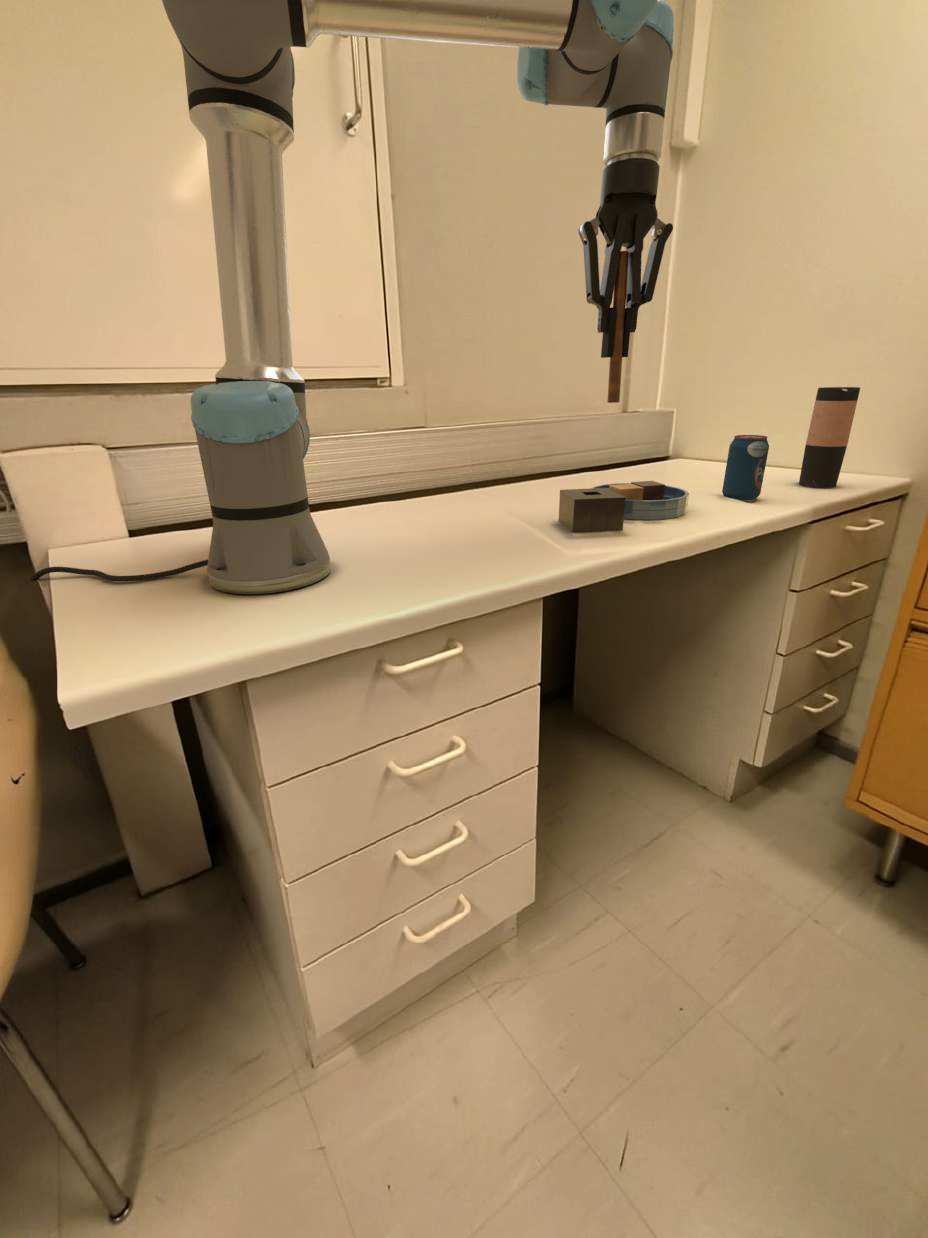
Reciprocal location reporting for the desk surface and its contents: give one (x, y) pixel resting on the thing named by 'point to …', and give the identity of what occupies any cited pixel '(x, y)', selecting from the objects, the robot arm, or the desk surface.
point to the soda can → (745, 467)
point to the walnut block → (651, 490)
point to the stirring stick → (618, 328)
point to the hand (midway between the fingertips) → (614, 356)
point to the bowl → (656, 505)
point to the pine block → (628, 491)
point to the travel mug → (828, 436)
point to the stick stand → (591, 510)
